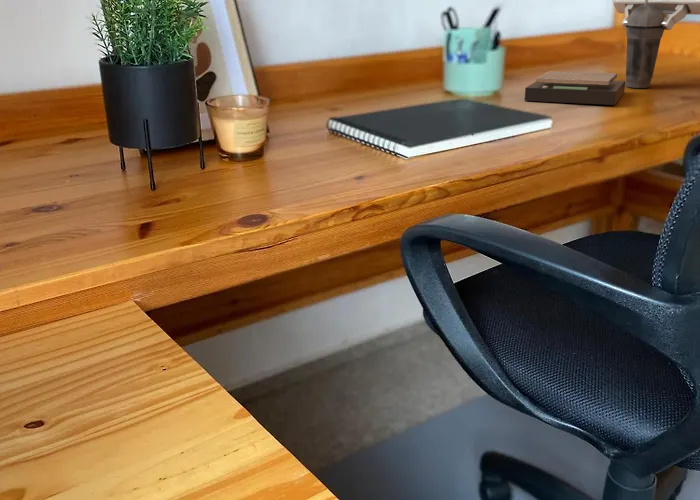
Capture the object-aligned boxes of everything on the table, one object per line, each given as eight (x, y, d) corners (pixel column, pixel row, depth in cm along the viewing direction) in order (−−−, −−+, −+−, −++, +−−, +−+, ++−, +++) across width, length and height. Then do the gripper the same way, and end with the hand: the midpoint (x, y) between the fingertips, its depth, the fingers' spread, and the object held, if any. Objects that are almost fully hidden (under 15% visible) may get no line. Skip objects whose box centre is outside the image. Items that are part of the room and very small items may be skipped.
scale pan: (616, 77, 136) (617, 73, 136) (608, 85, 127) (609, 80, 127) (548, 75, 142) (548, 71, 142) (535, 82, 133) (535, 78, 132)
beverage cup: (665, 85, 142) (680, -22, 134) (642, 90, 138) (656, -20, 131) (633, 81, 148) (646, -22, 140) (611, 85, 144) (622, -20, 136)
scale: (624, 93, 138) (625, 79, 137) (614, 105, 127) (616, 89, 126) (540, 90, 145) (541, 76, 144) (524, 100, 133) (525, 85, 132)
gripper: (628, -38, 146) (593, 14, 145) (726, -43, 131) (689, 16, 129) (638, -16, 150) (605, 36, 148) (735, -17, 135) (699, 40, 133)
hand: (645, 27), depth 139 cm, fingers closed on beverage cup, 7 cm apart
